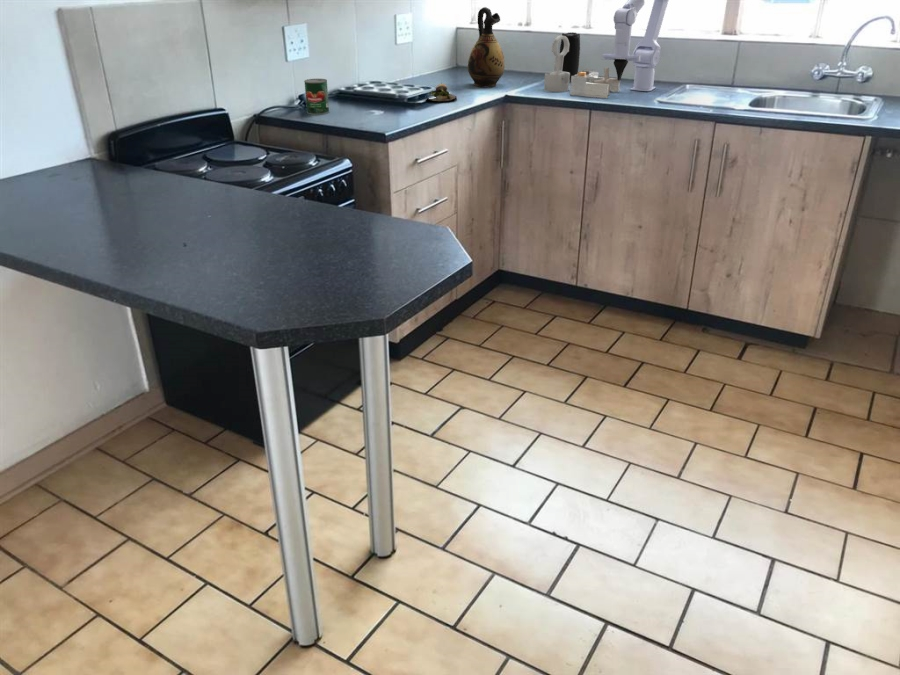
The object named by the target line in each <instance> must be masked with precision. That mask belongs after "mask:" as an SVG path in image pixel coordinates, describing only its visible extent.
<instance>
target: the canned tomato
mask: <svg viewBox="0 0 900 675" xmlns="http://www.w3.org/2000/svg"><path fill="white" fill-rule="evenodd" d="M303 82H304V91H305V102H306V113H307V115H315V116H317V115H318V116H319V115H326V114H329V113H330V104H329V91H328V80H327V79H325V78H309V79H305V80H304V81H303Z"/></svg>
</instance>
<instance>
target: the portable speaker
mask: <svg viewBox="0 0 900 675" xmlns="http://www.w3.org/2000/svg"><path fill="white" fill-rule="evenodd" d="M561 36H566V37H567V38H568V40H569V43H570V45H569V52H567V54H566V55H565V56H564V59H563V68H562V71H563V72H569V73H570V81H571V76H573V75H576V74H578V72H579V66H580V53H581V34H580V33H577V32H567V33H563V32H562V33H561ZM559 46H560V47H559V54H560V53H561V52H562V51H563V49H564V41H563V39H561V40H560V45H559Z"/></svg>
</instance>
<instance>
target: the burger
mask: <svg viewBox="0 0 900 675" xmlns="http://www.w3.org/2000/svg"><path fill="white" fill-rule="evenodd" d="M447 90H448V87H447V85H446V84H443V83H440V84H438V85H437V86H436V87H435V91H434V90H433V89H432V90H431V91H430V92H429V94H430V95H433V96H434V97H436V99H429V98H427V99H428V100H429V101H433V102H449V101H453V100H454V101H455V102H457V100H458V98H457V97H458V96H457V95H456V94H451V93H450V92H449V91H447Z"/></svg>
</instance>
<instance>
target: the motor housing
mask: <svg viewBox="0 0 900 675" xmlns="http://www.w3.org/2000/svg"><path fill="white" fill-rule="evenodd" d="M603 78H604V76H603V77H602V76H601V77H600V76H599V71H594V69H588V68H587V69H584V70H582V71H578V74H576V75H573V76H571V80H570V87H569V90H570V92H569V95H570V96H577V97H579V96H581V97H587V98H596V97H597V98H598V99H608V97H609V95H608V89H609V93H611V92H612V93H619V92H620V86H621V82H620V83H612V84H610V85H609V84H600V83H594V81H595V80H602V79H603ZM612 78H613V77H609V79H612Z"/></svg>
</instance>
